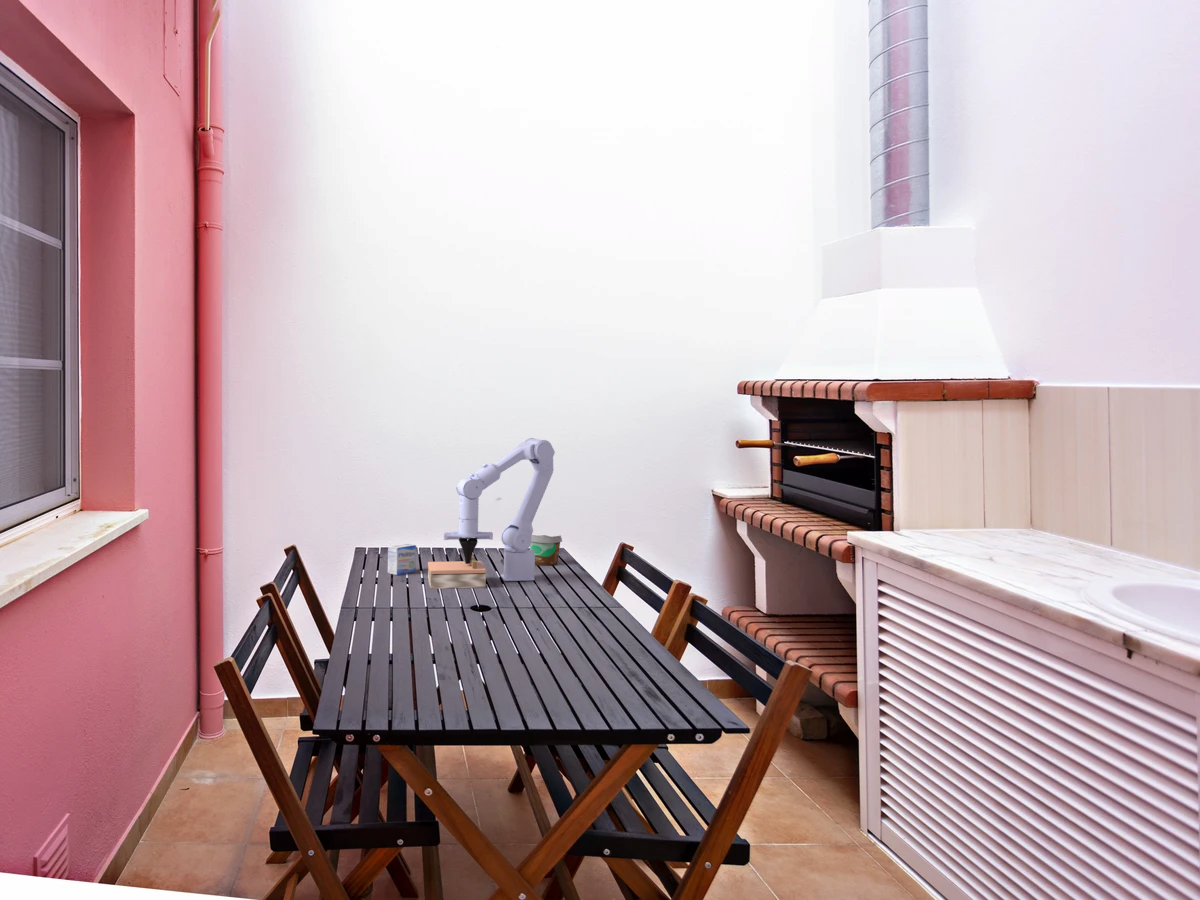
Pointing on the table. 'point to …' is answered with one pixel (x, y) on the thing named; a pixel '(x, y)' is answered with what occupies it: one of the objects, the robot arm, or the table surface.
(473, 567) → the sliding lid
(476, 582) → the storage case
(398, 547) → the medicine box
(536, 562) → the food container
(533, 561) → the robot arm
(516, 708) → the table surface
